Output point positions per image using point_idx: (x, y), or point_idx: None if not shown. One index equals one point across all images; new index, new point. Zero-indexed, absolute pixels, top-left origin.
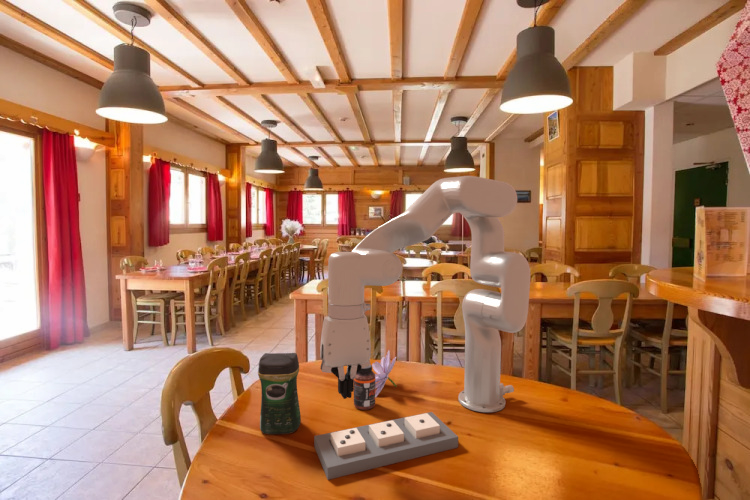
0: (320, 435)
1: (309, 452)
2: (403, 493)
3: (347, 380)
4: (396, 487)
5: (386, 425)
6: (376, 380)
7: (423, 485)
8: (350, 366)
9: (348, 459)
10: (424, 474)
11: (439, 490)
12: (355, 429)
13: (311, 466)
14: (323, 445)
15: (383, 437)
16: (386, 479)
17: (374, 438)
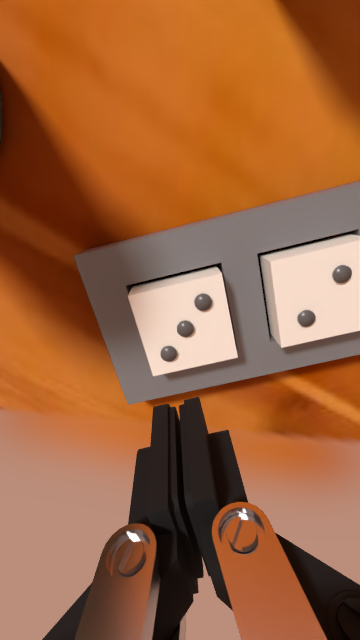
0: (94, 256)
1: (73, 277)
2: (283, 435)
3: (205, 563)
4: (275, 420)
5: (332, 272)
6: None
7: (331, 420)
8: (271, 625)
9: (181, 381)
10: (349, 392)
11: (355, 435)
12: (216, 285)
13: (88, 337)
14: (110, 312)
15: (298, 341)
16: (261, 397)
17: (271, 308)
